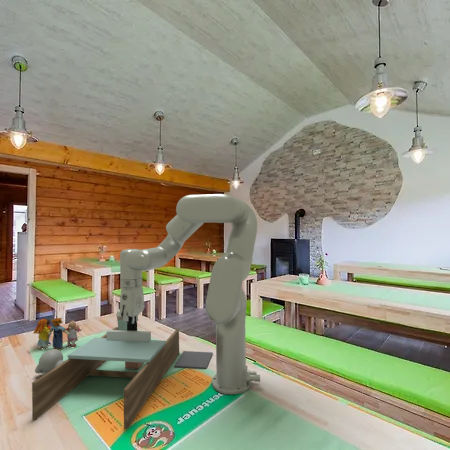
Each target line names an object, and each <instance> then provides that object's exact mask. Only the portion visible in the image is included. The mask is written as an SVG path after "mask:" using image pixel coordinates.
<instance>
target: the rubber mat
mask: <svg viewBox="0 0 450 450" xmlns="http://www.w3.org/2000/svg"><path fill="white" fill-rule="evenodd" d="M212 357H213V352H211V351H193V350H192V351H190V350H189V351H188V350H183V351H182V353H181V354H180V356H179V357H178V359H177V360H176V362H175V364H173V368H177V369H178V368H181V369H197V370H198V369H199V370H207V368H208V366H209V363H210V362H211V359H212Z"/></svg>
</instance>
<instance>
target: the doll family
mask: <svg viewBox="0 0 450 450" xmlns="http://www.w3.org/2000/svg"><path fill="white" fill-rule="evenodd" d="M62 319H63V318H62V317H56V318H53V319H51V320H49V318H42V319H40V320H39V321H38V322H37V325H36V327H35V329H34V330H33V332H32V334H36V335H38V341H37V343H36V344H37V346H39V348H38V350H39V349H41V348H43V349H46V348H48V347H49V345H48V344H50V345H51V344H52V349H56V348H57V350H59V349H61V348H63V349H64V347H63V346H64V345H63V344H64V343H63V342H64V339H63V338H64V337H63V334H64V333H65V334H66V336H67V345H66V348H67V347H68V348H71V347H74V348H76V347H77V346H76V345H77V344H76V343H77V342H78V340H79V339H78V335H77V333H79V332H82V328H80V325H79V324H77V323H76V321H74V320H71V321H70V322H68V326H67V327H63V326H61V324H63V322H64V321H63V320H62ZM51 323H52V326H51V325H50V324H51ZM52 334H53V336H52V343H51V342H50V337H51V335H52ZM71 345H72V346H71ZM69 346H71V347H69ZM75 346H76V347H75ZM48 349H49V348H48ZM41 350H42V349H41ZM46 350H47V349H46ZM61 350H62V349H61ZM59 351H60V350H59Z"/></svg>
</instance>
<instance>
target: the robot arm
mask: <svg viewBox="0 0 450 450" xmlns="http://www.w3.org/2000/svg"><path fill="white" fill-rule="evenodd" d="M175 209H176V210H175V212H176V215H175V216H174V217H173V218H172V219H171V220H169V221H168V223H166V226H165V229H166V232H167V235H166V237H165V238H164V239H163V240H162V241H161V243H159V244H158V245H157V246H156V247H150V248H144V249H139V248H127V249H122V250H121V251H120V253H119V264H120V265H119V266H120V267H119V272H120V276H119V277H120V281H119V283H120V295H119V296H120V297H119V309H120V315H121V317H123V321H125V322H126V324H127V331H138V320H139V315H140V313H142V312H143V311H144V310H145V296H144V288H143V272H148V271H150V270H155V269H158V268H159V269H160V268H162V267H164V266H165V265H167V264H168V263H169V262H170V261H171V260H172V259H173V258H174V257H175V256H176V255H177V254H178V253H179V252H180V250H181V249H182V248H183V245H184V243H185V242H186V241H187V240H188V239H189V238H190V237H191V236H193V234H194V233H195V232H196V231H197V230H198V229H199V228H200V227H202V226H203V225H204V223H217V224H223V223H224V224H231V230H230V233H229V237H228V239H227V240H228V241H227V245H226V249H225V250H226V251H225V254H224V255H222V256H220V257H219V258H218V259H217V260H215V263H214V265H213V267H212V270H211V273H210V279H209V284H208V288H207V293H206V300H205V311H206V314H207V317H208V319H210V320H211V321H212V322H213V323H215V351H216V352H215V354H216V355H215V356H216V357H215V361H216V363H215V364H216V367H215V368H216V373H215V374H214V376H213V377H212V379H211V386H212V388H213V389H214V390H215V391H216V392H219V393H221V394H223V395H238V394H242V393H244V392H246V391H248V390H249V389H250V388H251V386H252V382H257V383H258V382H261V374H258V372H257V371H255V370H254V371H253V370H252V371H251V370H249V369H248V365H247V361H246V360H247V358H246V352H247V351H246V347H247V346H246V319H247V318H246V317H247V316H246V314H247V296H246V294H245V291H244V290H243V289H244V288H242V285H243V282H244V281H245V280H246V279H248V276H249V275H250V272H251V269H252V268H251V267H252V261H253V255H254V251H255V243H256V238H257V234H258V221H257V215H256V213H255V212H254V210H253V209H252V207H251V205H249V204H248V203H247V202H245V201H244V200H243V199H240V198H239V197H235V196H232V195H231V194H225V193H213V194H210V193H209V194H187V195H185V196H184V195H183V197H181V198H180V199H179V200H178V202H177V204H176V208H175Z"/></svg>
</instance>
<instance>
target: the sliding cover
mask: <svg viewBox="0 0 450 450" xmlns="http://www.w3.org/2000/svg"><path fill="white" fill-rule="evenodd" d="M105 334H107V338H101V337H93V338H92V339H91V340H89V341H88V342H86V343H84V344H83V345H81V346H79V347H78V348H76V349H75V350H73V351H72V352H70V353H69V354H67V359H69V358H70V359H88V360H106V362H107V361H109V362H123V363H125V362H142V363H143V364H144V363H145V364H146V363H150V361H151V360H152V359H153V358H154V357H155V356H156V354H157V353H158V352H159V351H160V350H161V349H162V348H163V346H164V345H165V344H166V341H167V340H158V339H157V340H156V339H155V340H154V339H152V332H151V331H149V330H147V331H146V330H145V331H144V330H137V331H124V330H113V329H108V330H107V331H106V333H105Z"/></svg>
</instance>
